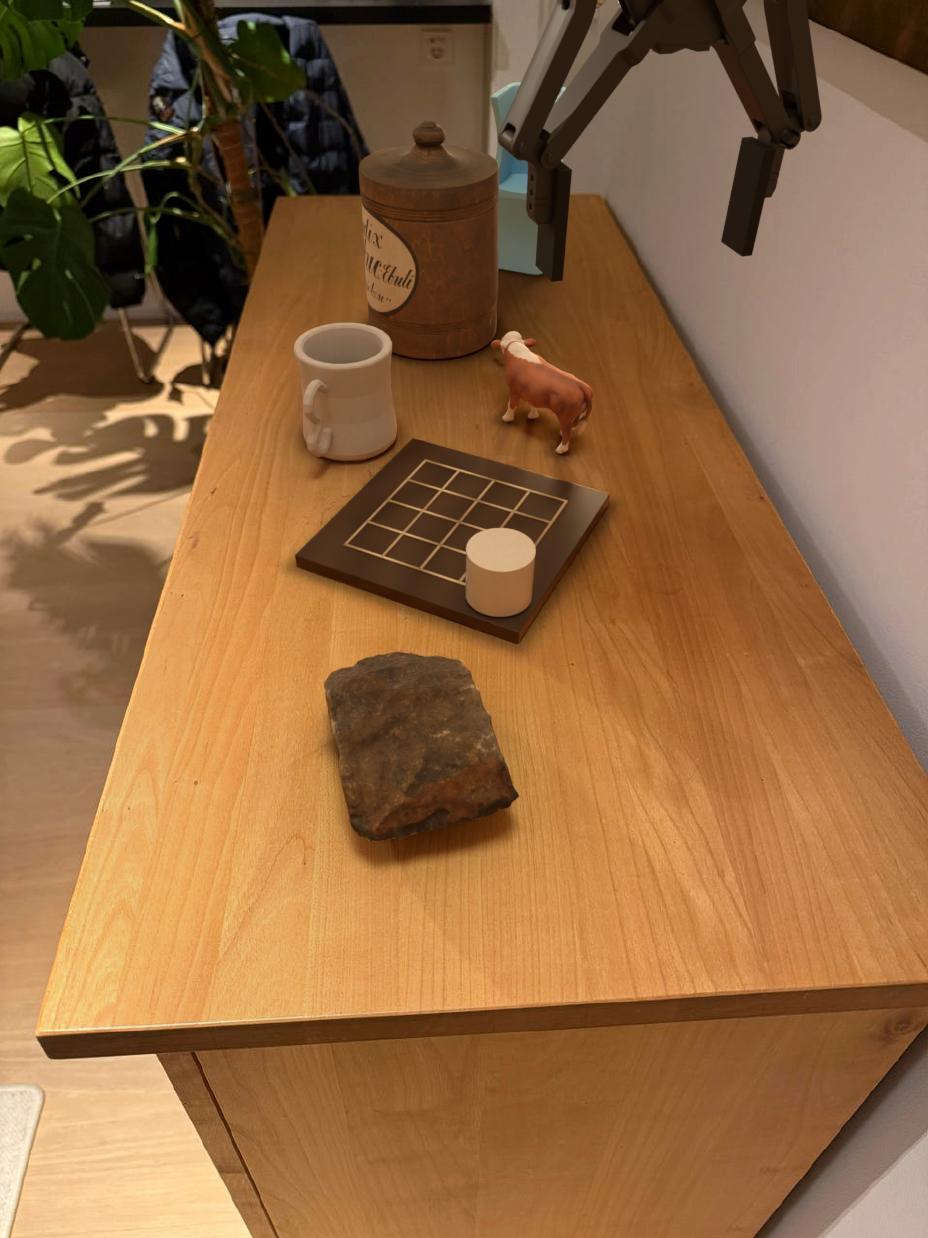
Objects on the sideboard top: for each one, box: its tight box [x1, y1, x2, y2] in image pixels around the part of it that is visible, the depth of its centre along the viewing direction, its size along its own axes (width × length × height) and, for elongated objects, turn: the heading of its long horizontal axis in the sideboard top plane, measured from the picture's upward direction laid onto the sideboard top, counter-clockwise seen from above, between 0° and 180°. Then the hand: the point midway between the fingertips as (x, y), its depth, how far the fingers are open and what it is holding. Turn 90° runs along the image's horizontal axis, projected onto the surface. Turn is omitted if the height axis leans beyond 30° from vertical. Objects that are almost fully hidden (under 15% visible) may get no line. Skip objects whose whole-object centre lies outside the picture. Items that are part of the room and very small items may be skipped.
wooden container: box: [358, 120, 499, 360], centre depth 99 cm, size 15×15×22 cm
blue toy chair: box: [489, 81, 567, 276], centre depth 115 cm, size 8×8×20 cm
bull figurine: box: [490, 330, 594, 455], centre depth 88 cm, size 4×13×8 cm, turn 36°
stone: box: [323, 651, 520, 843], centre depth 58 cm, size 10×14×6 cm
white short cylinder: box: [465, 528, 536, 617], centre depth 69 cm, size 5×5×4 cm
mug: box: [293, 322, 398, 462], centre depth 85 cm, size 12×9×10 cm
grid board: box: [294, 437, 611, 644], centre depth 78 cm, size 20×20×1 cm
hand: (644, 261), depth 60 cm, fingers open, 13 cm apart
